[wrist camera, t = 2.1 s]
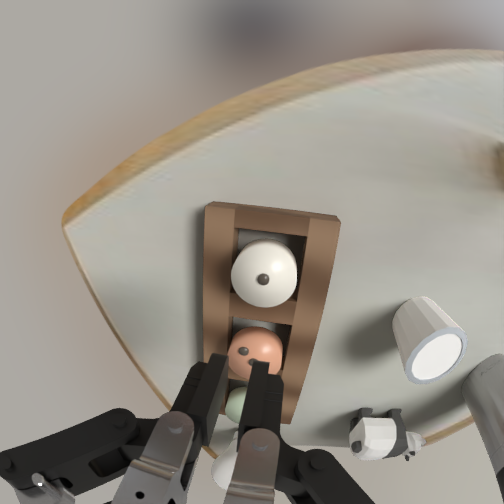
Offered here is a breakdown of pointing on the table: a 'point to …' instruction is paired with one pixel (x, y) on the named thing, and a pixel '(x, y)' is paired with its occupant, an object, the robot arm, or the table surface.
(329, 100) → the table surface
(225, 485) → the light bulb
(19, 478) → the robot arm
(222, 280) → the button board
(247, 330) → the button three
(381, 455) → the giant panda
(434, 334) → the white tapered cylinder
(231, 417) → the button two
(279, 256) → the button one
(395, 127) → the table surface
